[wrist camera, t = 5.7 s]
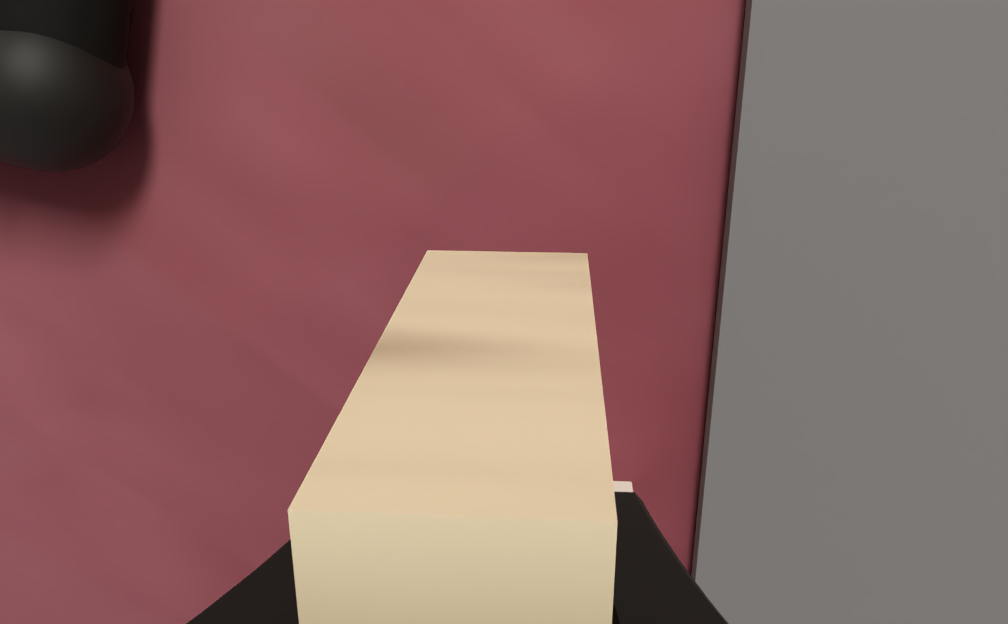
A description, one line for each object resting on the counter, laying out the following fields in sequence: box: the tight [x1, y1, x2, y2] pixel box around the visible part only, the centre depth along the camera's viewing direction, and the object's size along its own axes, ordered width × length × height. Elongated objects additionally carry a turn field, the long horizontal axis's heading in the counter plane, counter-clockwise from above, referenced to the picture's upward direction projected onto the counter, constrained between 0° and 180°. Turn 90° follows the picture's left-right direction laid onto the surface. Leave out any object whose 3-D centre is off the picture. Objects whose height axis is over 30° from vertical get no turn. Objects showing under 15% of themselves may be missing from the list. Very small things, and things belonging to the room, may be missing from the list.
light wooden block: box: [288, 250, 618, 624], centre depth 10 cm, size 6×2×7 cm, turn 0°
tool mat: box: [691, 0, 1008, 624], centre depth 17 cm, size 16×11×1 cm
